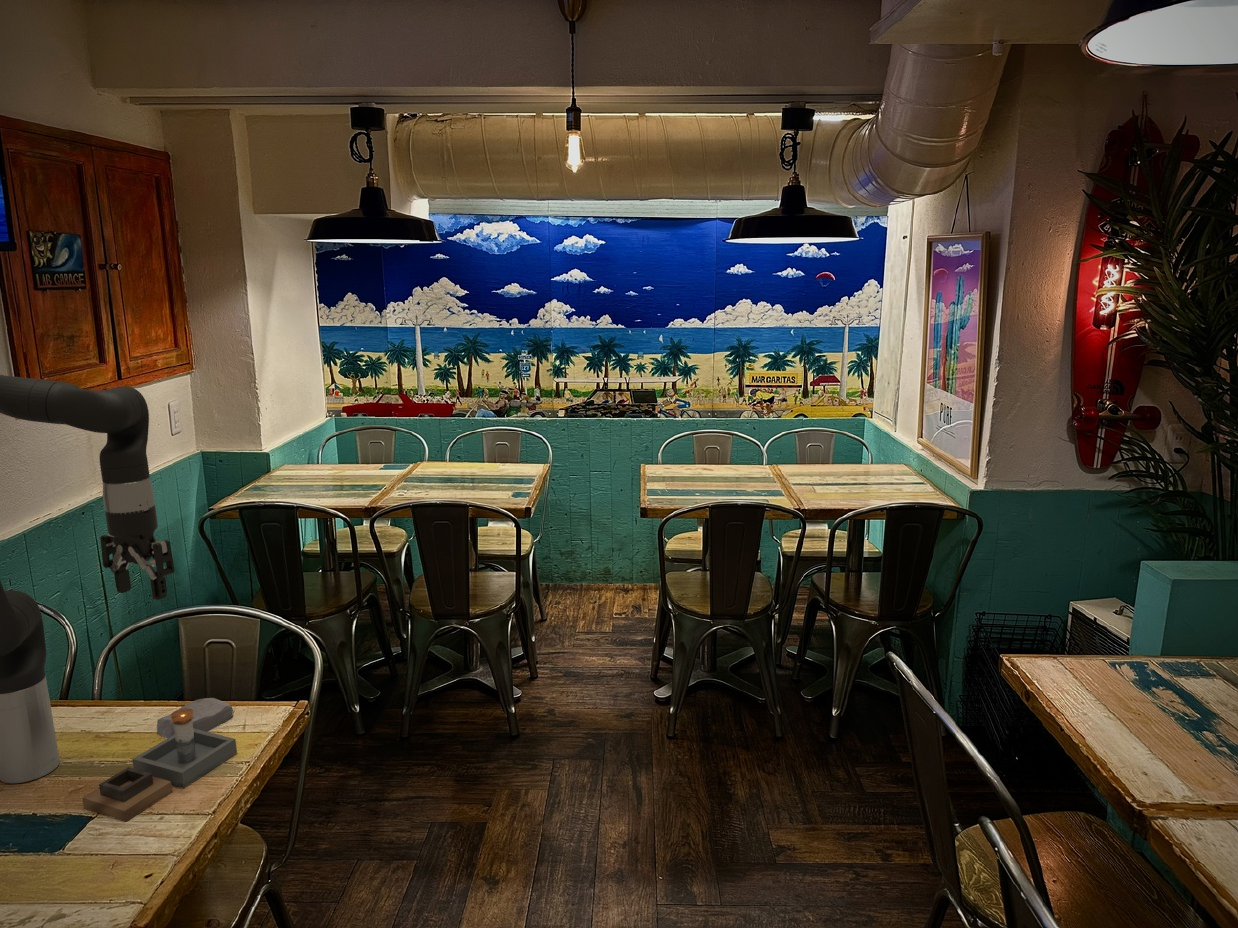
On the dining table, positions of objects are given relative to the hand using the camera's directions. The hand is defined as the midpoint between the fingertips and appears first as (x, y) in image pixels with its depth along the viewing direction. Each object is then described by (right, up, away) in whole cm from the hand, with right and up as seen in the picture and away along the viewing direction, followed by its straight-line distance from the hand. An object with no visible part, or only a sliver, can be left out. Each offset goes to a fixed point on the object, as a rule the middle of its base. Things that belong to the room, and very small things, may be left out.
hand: (142, 594), depth 152 cm
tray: (+4, -32, +8) cm, 33 cm away
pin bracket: (-1, -35, -3) cm, 35 cm away
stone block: (-2, -30, +22) cm, 37 cm away
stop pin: (+4, -31, +8) cm, 33 cm away
